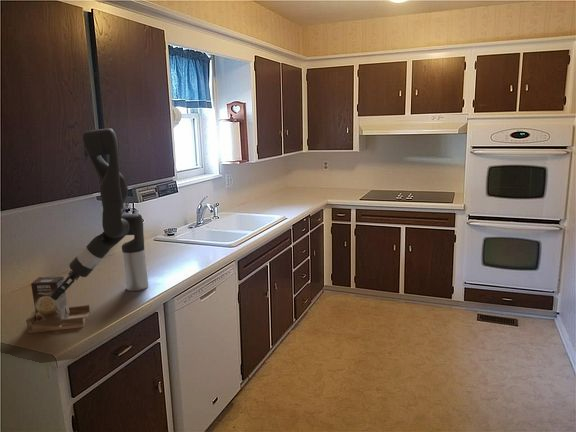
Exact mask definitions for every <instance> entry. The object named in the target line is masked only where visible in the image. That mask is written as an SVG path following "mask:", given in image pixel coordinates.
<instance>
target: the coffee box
mask: <svg viewBox="0 0 576 432" xmlns="http://www.w3.org/2000/svg"><path fill="white" fill-rule="evenodd" d="M64 279H65V277H64V276H39V277H37V278H36V279H34V280H33V281H32V282H31V284H30V285H31V291H32V298H33V299H32V300H33V303H34V304H33V305H34V310H35V313H36V320H37V321H40V320H49V319H58V318H59V319H60V324H61V319H67V318H68V317H69V315H68V313H69V307H68V302H67V294H66V292H65V293H63V294H61V296H60V297H59V298H58V299H57V300H54V299H52V298H51V296H52V295H53V294H54V292H55V291H56V290H57V288H58V287H59V286H60V285H61V282H62V281H63V280H64ZM61 288H62V289H65V287H64V286H62V287H61Z"/></svg>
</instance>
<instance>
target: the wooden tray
mask: <svg viewBox="0 0 576 432" xmlns="http://www.w3.org/2000/svg"><path fill="white" fill-rule="evenodd" d="M90 308H91V307H90V304H82V305H73V306H69V307H68V315H69V317H68V318H67V319H61V324H60V319H59V318H58V319H49V320H40V321H37V320H36V313H35V309H34V310H33V311H32V312H31V314H30V315H29V316H28V317H27V318H26V321H25V322H26V327H27V333H28V334H34V333H44V332H51V331H59V330H61V331H62V330H67V329H78V328H84V326H85V324H86V322H87V321H88V319H89V317H90V314H91V309H90Z"/></svg>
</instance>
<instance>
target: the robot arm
mask: <svg viewBox="0 0 576 432" xmlns="http://www.w3.org/2000/svg"><path fill="white" fill-rule="evenodd" d="M117 138H118V137H117V135H116V132H115V131H114V130H113V128H108V127H107V128H101V129H93V130H86V131H85V132H83V134H82V144H83V147H84V150H85V152H86V154H87V156H88V158H89V160H90V162H91V164H92V166H93V168H94V170H95V173H96V175H97V179H98V181H99V184H100V188H99V192H100V199H101V205H102V219H101V221H102V222H101V223H102V230H103V232H102V233H100V234H98V235H96V236H94V238H93V239H91V241H90V242H89V243H88V244H87V245H86V246H85V247H84V248H82V250H80V252H78V254H76V256H75V257H74V258H73V259H72V261H70V263H69V268H70V270H69V271H68V273H67V274H66V275H65V277H64V280H63V281H62V282H61V285H60V286H59V287H58V288H57V290H56V291H55V292H54V294H53V295H52V296H51V298H52V299H54V300H57V299H58V298H59V297H60V296H61V294H63V293H66V291H67V290H69V289H70V288H71V287H72V286H73V285H74V284H75V283H76V282H77V281H78V280H79V278H80V277H81V278H87V277H89V275H90V273H92V272H93V271H94V269H95V268H96V267H97V266H99V264H100V262H102V260H103V259H104V257H105V256H107V254H108V253H109V252H110V250H111V249H112V248H113V247H115V246H116V245H117V244H119V242H121V241H122V240H123V239H124V238H125V237H127V236H134V237H133V239H131V240H129V241H126V242H124V243H122V245H121V252H122V261H123V269H124V278H125V288H126V290H127V291H131V292H136V291H143V290H145V289H147V288H148V287H149V279H148V278H149V277H148V270H147V260H146V251H145V235H144V233H145V232H144V220H143V217H142V215H141V214H140V213H123V211H122V210H123V208H124V203H125V202H126V200H127V198H128V195H129V187H128V185H127V181H126V179H125V176H124V175H123V174H122V173H121V172H120V156H119V155H120V154H119V142H118V139H117ZM107 155H109V156H108V158H109V161H108V162H107V161H106V160H105V159H104V158H103V157H102V156H107ZM62 286H64V287H65V289H62V288H61V287H62Z"/></svg>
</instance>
